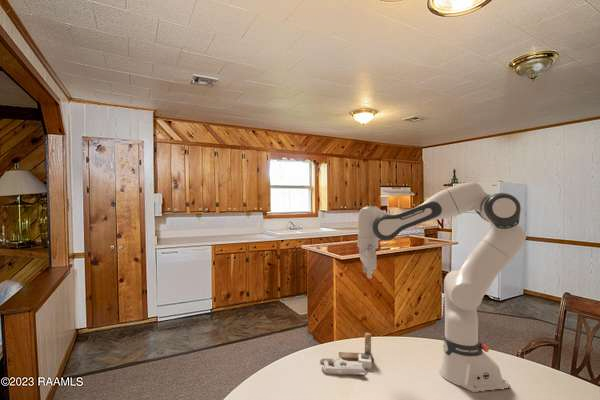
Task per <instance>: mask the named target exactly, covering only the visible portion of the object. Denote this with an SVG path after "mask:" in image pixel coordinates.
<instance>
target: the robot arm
mask: <svg viewBox="0 0 600 400" xmlns="http://www.w3.org/2000/svg"><path fill="white" fill-rule="evenodd" d="M471 211H473V212H474V211H475V212H476V213H477V214H478V215H479V216H480V218H481V219H483V220H484V221H486V222H487V223H489V224H490V226H489V227H490V228H489V230H488V232H487V234H485V236H484V237H483V238H482V239H481V240H479V242H478V243H477V245H476V246H474V248H473V249H472V250H471V252H469V254H468V255H467V258H465V261H464V263H463V264H462V266H461V267H460V268H459V269H454V270H451V271H448V273H447V274H446V275H445V278H444V280H443V289H444V290H443V291H444V293H443V295H444V297H443V298H444V334H443V342H442V347H443V356H442V362H441V365H440V367H439V373H440V375H441V376H442V377H443V378H444V379H446V380H447V382H450V383H452V384H454V385H456V386H459V387H462V388H464V389H466V390H468V391H470V392H472V393H479V391H481V392H486V391H485V390H492V391H495V390H494V389H502V388H503V390H505V389H504V388H508V387H509V388H510V384H509V381H507V379H506V378H505V377H504V376H503V374H502V373H501V369H500V366H499V365H498V364H497V363H496V361H495V360H494V359H493V358H491V357H490V356H489V355H488V354H487V353H488V352H489V351H490V348H489V346H487V345H486V344H485V343H484V344H483V343H482V342H481V341H480V340H479V319H478V318H479V317H478V311H477V308H479V306H481V303H482V301H483V298H484V296H485V295H486V294H487V292H488V290H489V289H490V287H491V285H492V284H493V283H494V281H495V279H496V278H497V277H498V275H499V274H500V273H501V272H502V271H503V270H504V268H505V267H507V265H508V264H509V263H510V261H512V259H513V258H514V257H515V256H516V255H517V253H518V252H519V251H520V249H521V247H523V245H524V242H525V241H526V239H527V233H526V231H525V230H524V228H523V227H521V225H519V224H520V216H521V203H520V201H519V200H518V198H516V197H515V196H514V195H512V194H510V193H506V192H498V193H492V194H489V193H487V192H485V189H484V188H483V187H482V186H481V185H480V184H479V183H477V182H476V181H468V182H465V183H460V184H459V183H458V184H456V185H453V186H450V187H447V188H445V189H443V190H440V191H438V192H436V193H435V194H433V195H432V196H430V197H428V199H426V200H425V201H424V202H422V203H421V204H419V205H417V206H414V208H413V207H412V208H410V209H407V210H405V211H402V212H400V213H396V214H392V213H389V212H386V211H384V210H382V209H380V208H379V207H378V206H377V205H376V206H375V205H369V206H365V207H362V208H360V210H359V211H358V216H357V217H358V218H357V228H358V229H357V230H358V232H357V233H358V234H357V247H358V252H359V253H358V255H359V259H360V261H361V262H362V268H363V269H362V270H363V271H362V272H363V273H364V274H365V273H366V277H367V278H368V279H373V274H374V273H373V272H374V270H376V269H377V265H378V264H377V260H378V259H377V251H376V249H379V240H381V241H391V240H393V239H395V238H396V237H397V236H398V235H399V234H400V233H402V232H403V231H404V230H406V229H410V228H412V227H415V226H417V225H420V224H421V223H425V222H429V221H438V220H445V219H449V218H450V219H451V218H453V217H456V216H459V215H461V214H465V213H467V212H471ZM505 382H506V383H505Z"/></svg>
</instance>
